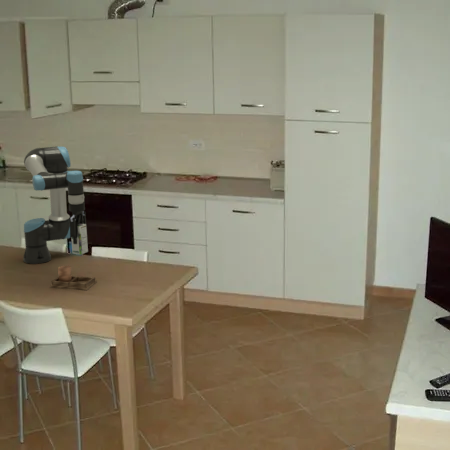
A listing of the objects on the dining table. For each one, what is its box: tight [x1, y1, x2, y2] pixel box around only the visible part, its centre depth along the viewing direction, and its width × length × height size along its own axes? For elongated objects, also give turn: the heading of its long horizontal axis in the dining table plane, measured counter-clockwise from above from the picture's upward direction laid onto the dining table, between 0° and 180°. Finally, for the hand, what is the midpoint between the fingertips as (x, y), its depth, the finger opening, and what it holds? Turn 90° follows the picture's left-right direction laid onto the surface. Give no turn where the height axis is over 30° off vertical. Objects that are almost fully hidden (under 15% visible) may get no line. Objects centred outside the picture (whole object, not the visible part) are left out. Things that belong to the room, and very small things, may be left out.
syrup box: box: [70, 223, 89, 256], centre depth 344 cm, size 6×6×14 cm
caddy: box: [49, 265, 98, 291], centre depth 350 cm, size 20×12×9 cm, turn 75°
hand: (79, 247), depth 345 cm, fingers closed on syrup box, 7 cm apart
